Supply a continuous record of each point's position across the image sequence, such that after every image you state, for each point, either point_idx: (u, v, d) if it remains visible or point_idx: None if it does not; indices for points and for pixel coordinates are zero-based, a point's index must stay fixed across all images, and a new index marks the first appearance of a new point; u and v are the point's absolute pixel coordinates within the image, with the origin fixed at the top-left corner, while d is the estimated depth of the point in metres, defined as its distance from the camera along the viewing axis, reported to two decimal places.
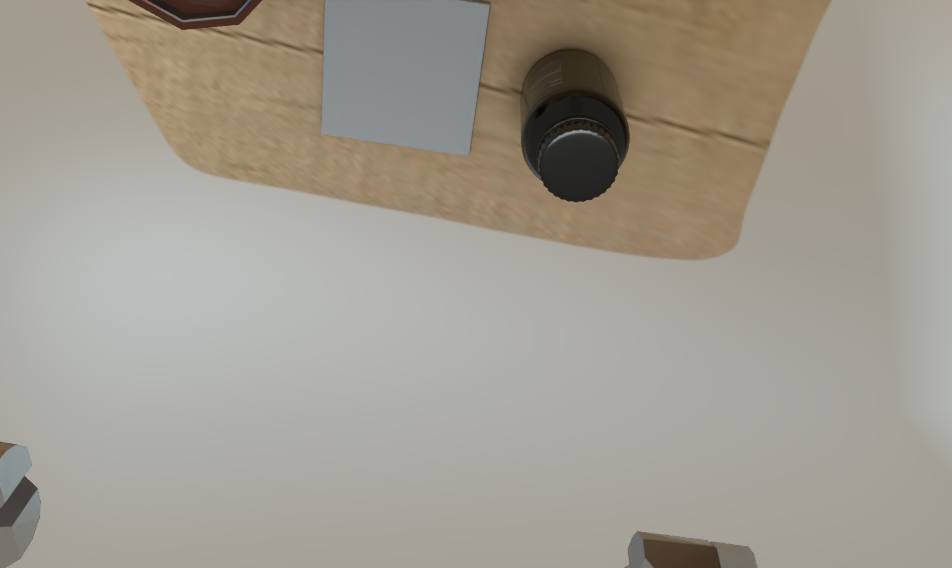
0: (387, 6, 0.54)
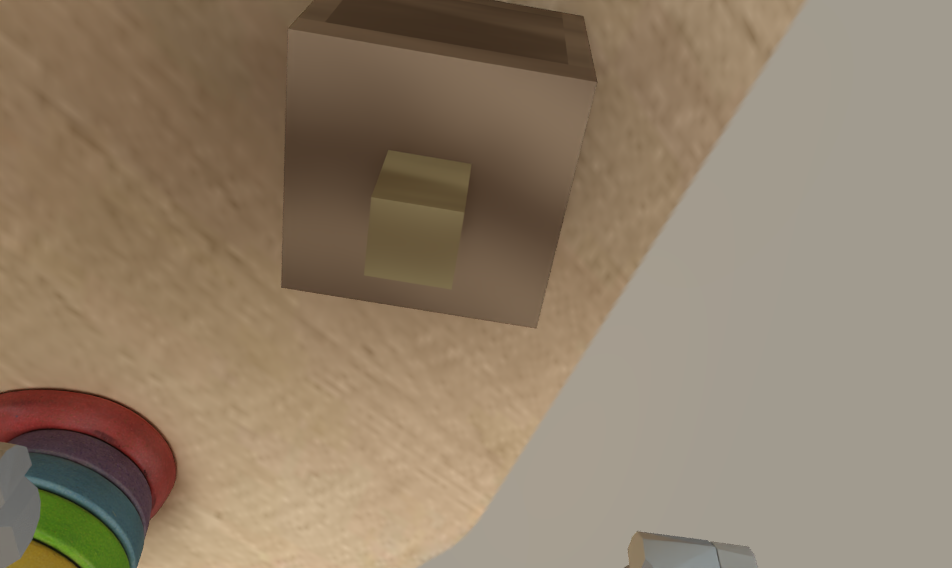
0: None
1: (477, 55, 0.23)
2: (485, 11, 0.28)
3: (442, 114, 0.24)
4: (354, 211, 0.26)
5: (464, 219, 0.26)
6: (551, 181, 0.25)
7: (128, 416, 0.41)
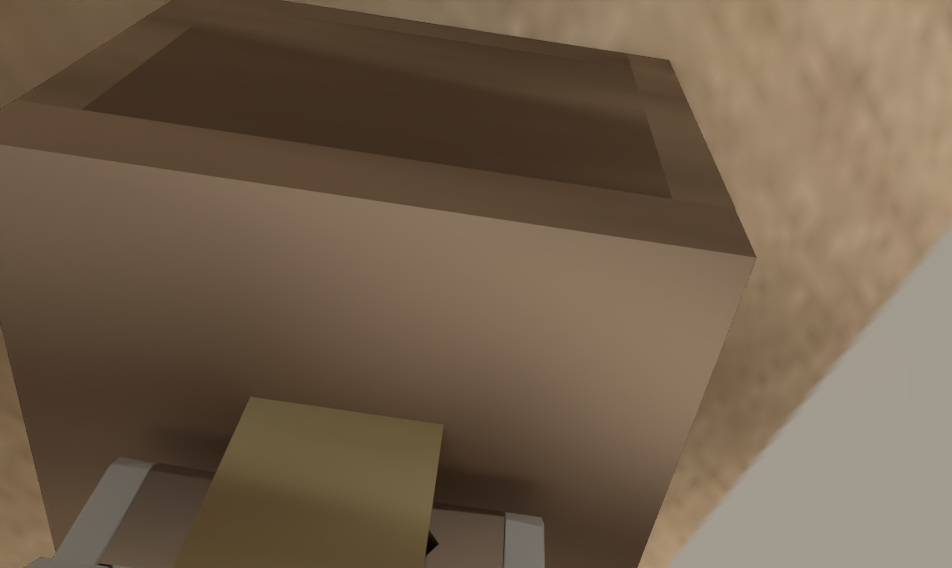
0: None
1: (447, 190, 0.09)
2: (477, 59, 0.14)
3: (368, 327, 0.10)
4: None
5: None
6: (629, 457, 0.11)
7: None
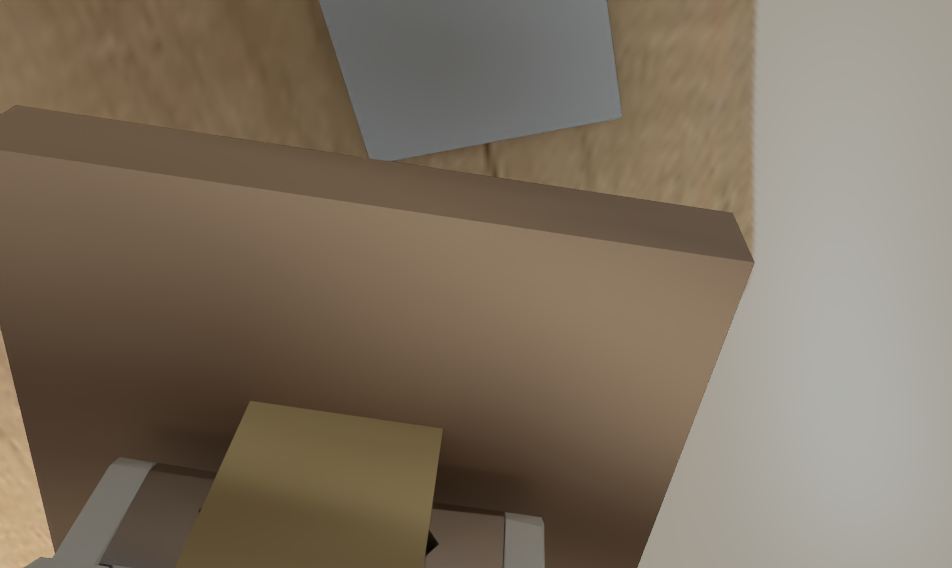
0: (367, 67, 0.33)
1: (447, 195, 0.09)
2: None
3: (367, 331, 0.10)
4: None
5: None
6: (627, 461, 0.11)
7: None
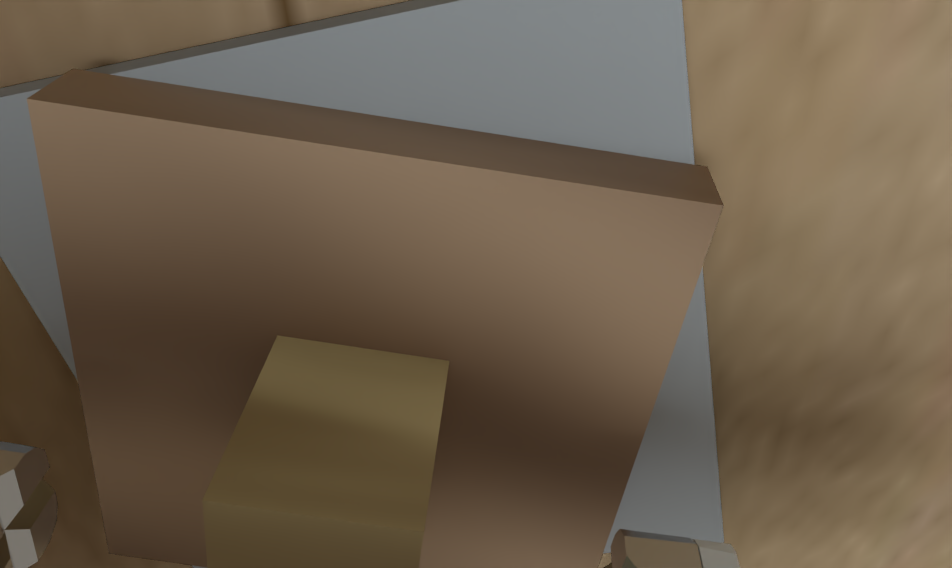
0: None
1: (455, 147, 0.11)
2: None
3: (383, 269, 0.11)
4: (224, 438, 0.13)
5: (439, 454, 0.13)
6: (614, 391, 0.12)
7: None
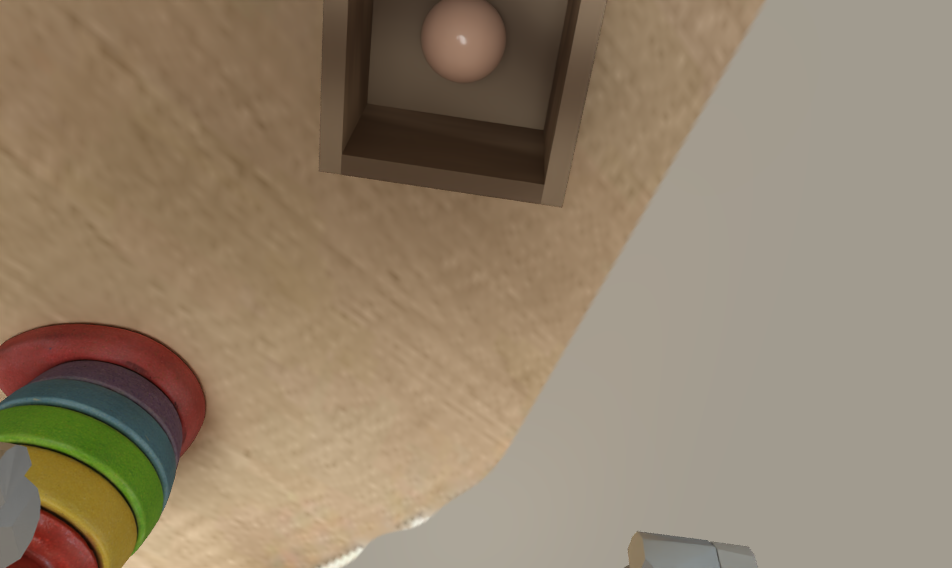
0: None
1: None
2: None
3: None
4: None
5: None
6: None
7: (159, 350, 0.41)
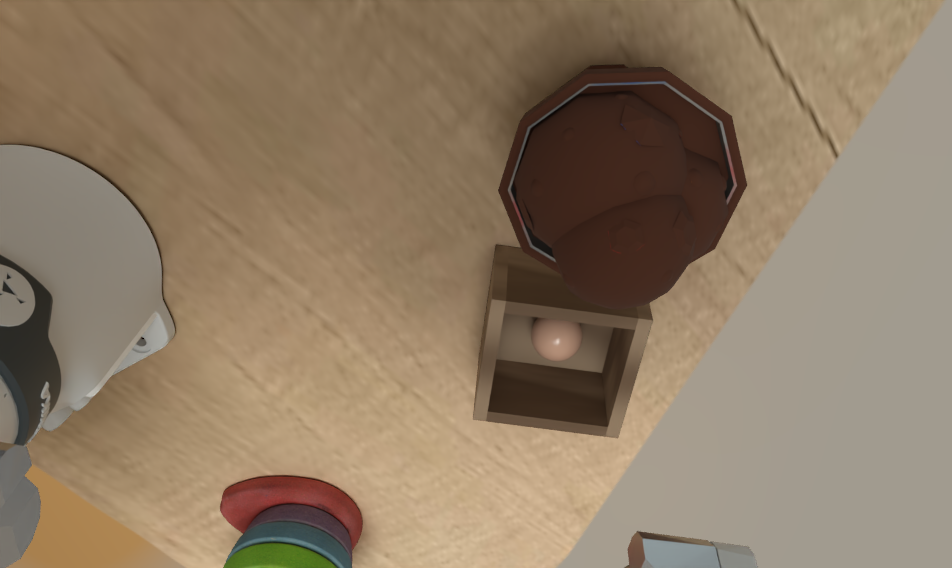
0: None
1: None
2: None
3: None
4: None
5: None
6: None
7: (336, 493, 0.61)
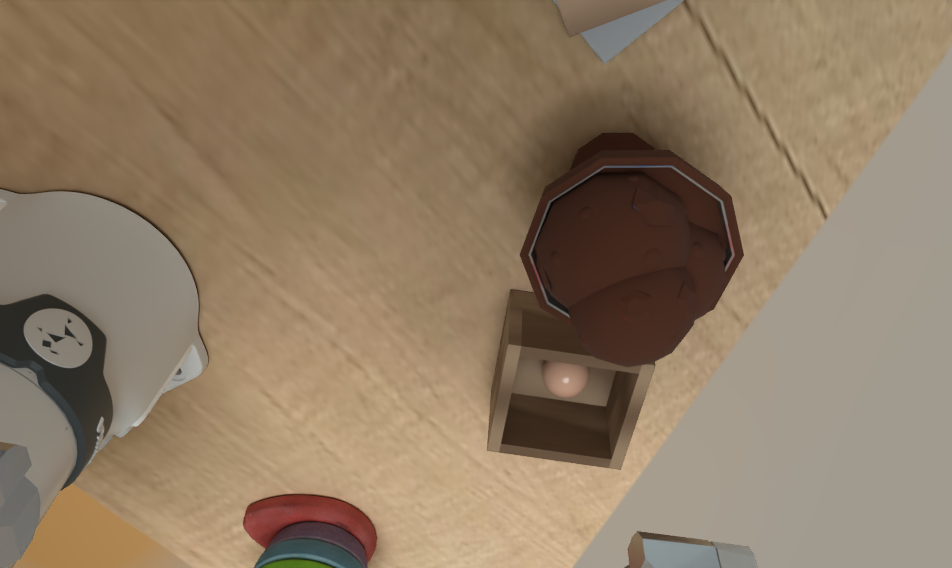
0: None
1: None
2: None
3: None
4: None
5: None
6: None
7: (353, 511, 0.65)
